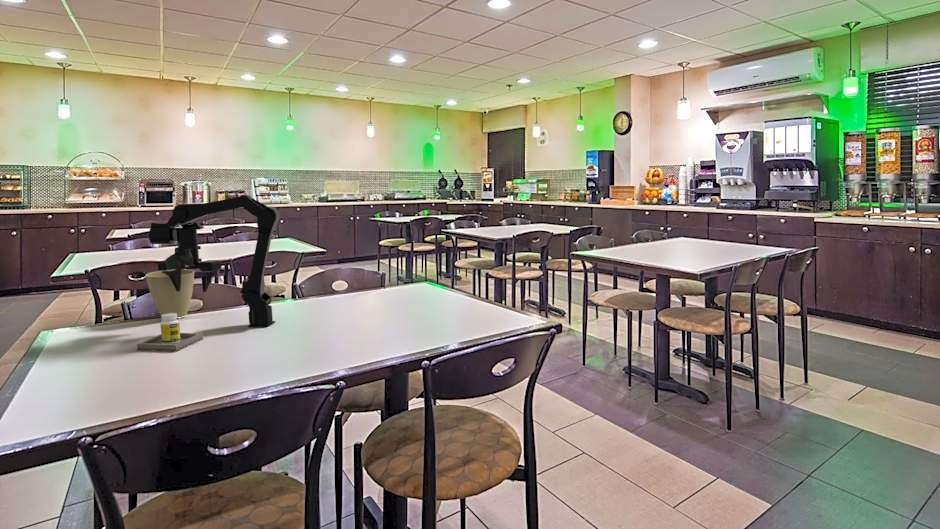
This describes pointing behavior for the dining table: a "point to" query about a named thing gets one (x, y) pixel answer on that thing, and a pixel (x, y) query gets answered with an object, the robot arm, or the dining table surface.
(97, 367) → the dining table surface
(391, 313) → the dining table surface
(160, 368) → the dining table surface
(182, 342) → the tray
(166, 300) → the plant pot
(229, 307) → the dining table surface
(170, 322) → the supplement bottle
